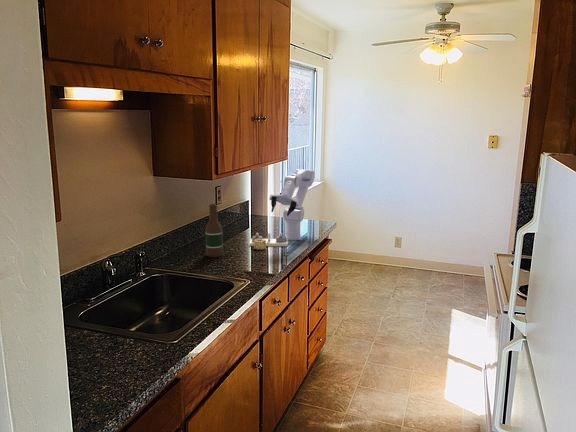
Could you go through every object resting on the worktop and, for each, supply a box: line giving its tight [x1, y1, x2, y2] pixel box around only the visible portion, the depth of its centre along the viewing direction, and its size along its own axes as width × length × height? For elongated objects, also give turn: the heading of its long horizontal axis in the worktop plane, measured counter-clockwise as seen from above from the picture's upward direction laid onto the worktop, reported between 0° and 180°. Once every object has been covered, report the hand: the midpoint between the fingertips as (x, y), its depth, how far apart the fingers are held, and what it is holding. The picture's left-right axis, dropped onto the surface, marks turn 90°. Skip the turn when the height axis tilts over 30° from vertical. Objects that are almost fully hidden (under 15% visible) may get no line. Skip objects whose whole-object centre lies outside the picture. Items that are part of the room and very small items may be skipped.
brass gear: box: [253, 238, 267, 250], centre depth 236 cm, size 6×6×4 cm
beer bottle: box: [204, 203, 224, 258], centre depth 222 cm, size 8×8×24 cm
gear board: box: [249, 232, 289, 247], centre depth 243 cm, size 9×19×6 cm, turn 88°
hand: (279, 212), depth 230 cm, fingers open, 7 cm apart
